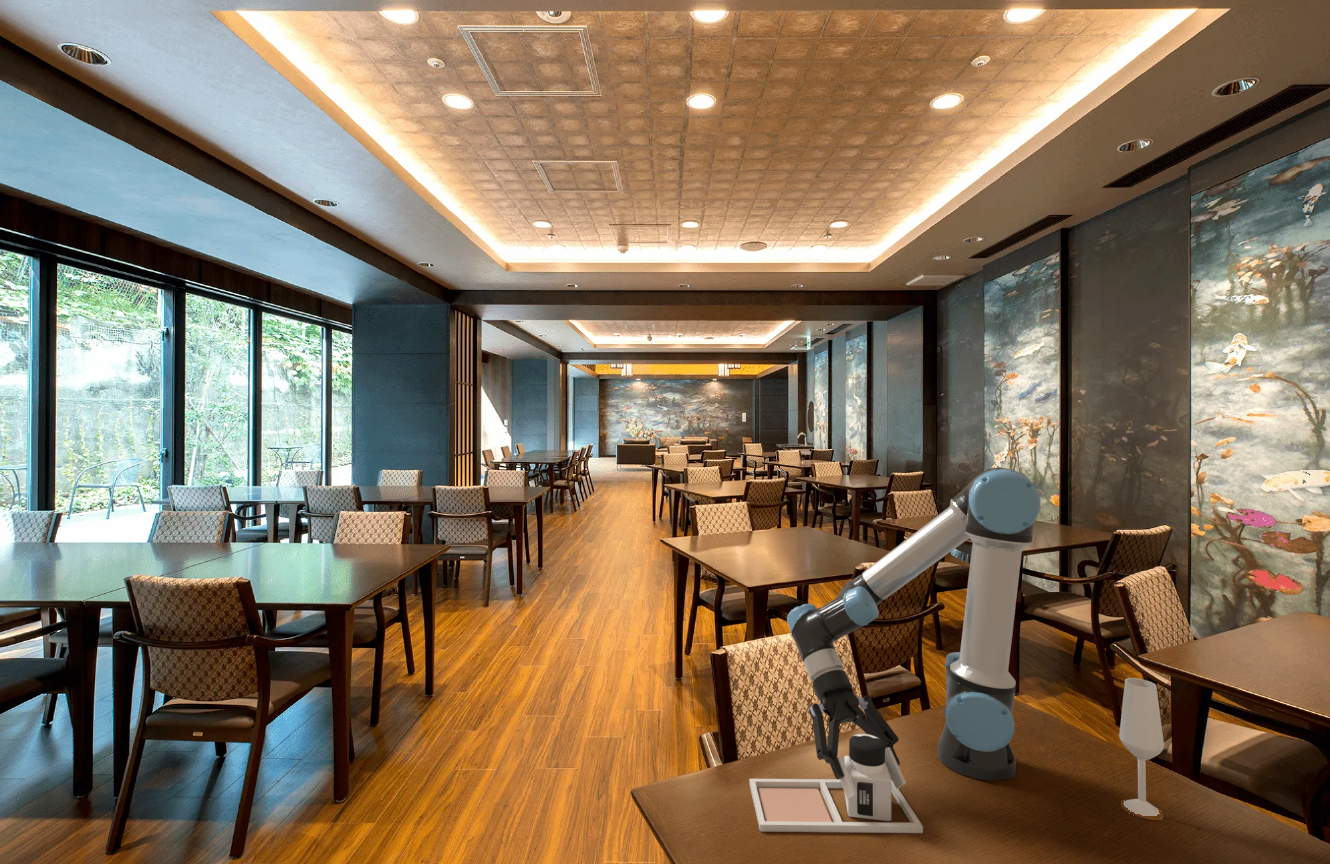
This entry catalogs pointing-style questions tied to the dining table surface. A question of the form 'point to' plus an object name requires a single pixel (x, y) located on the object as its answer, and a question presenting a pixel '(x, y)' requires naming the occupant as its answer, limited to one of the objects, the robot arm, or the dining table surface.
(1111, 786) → the dining table surface
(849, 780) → the robot arm
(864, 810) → the container
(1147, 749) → the champagne flute
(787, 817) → the bay frame
